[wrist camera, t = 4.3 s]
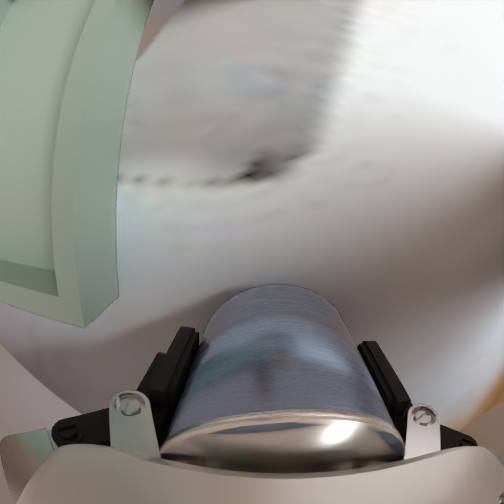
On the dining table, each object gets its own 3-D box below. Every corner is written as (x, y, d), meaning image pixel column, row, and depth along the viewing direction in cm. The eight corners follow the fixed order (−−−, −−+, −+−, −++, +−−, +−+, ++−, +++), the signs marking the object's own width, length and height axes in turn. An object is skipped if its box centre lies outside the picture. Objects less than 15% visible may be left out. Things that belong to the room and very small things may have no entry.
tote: (184, -67, 7) (175, -96, 3) (118, 296, 13) (84, 328, 9) (18, -4, 6) (-2, -16, 3) (-32, 261, 12) (-60, 273, 9)
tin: (363, 289, 11) (450, 402, 4) (328, 402, 13) (353, 513, 6) (203, 274, 11) (131, 395, 4) (202, 393, 13) (171, 507, 6)
